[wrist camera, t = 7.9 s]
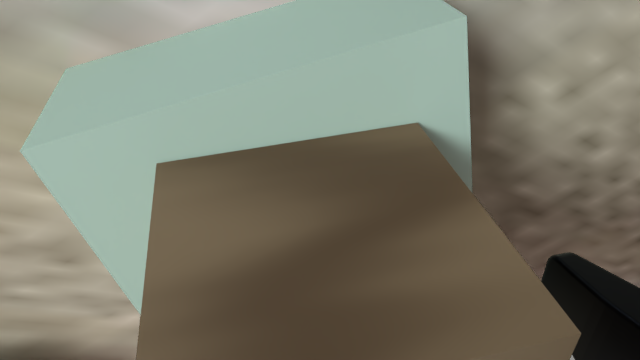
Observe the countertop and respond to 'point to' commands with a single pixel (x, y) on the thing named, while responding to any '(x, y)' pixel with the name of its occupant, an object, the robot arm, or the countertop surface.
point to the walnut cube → (337, 259)
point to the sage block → (244, 105)
